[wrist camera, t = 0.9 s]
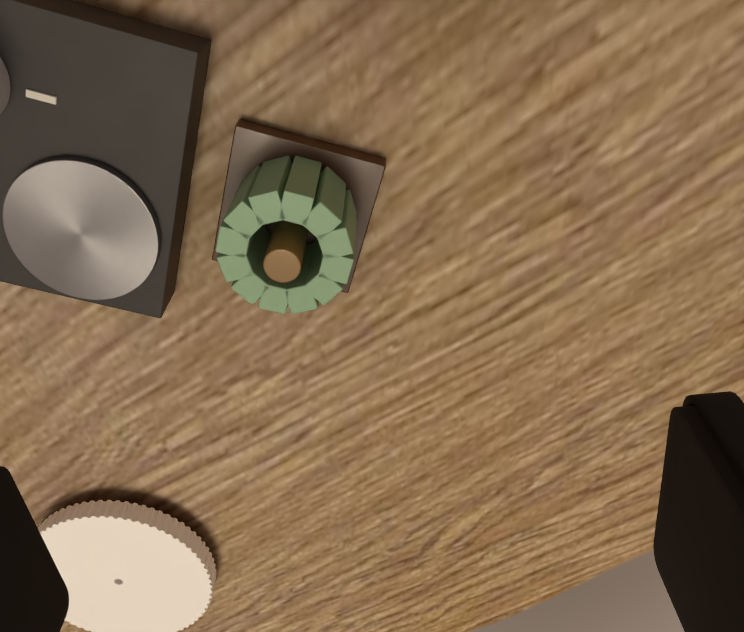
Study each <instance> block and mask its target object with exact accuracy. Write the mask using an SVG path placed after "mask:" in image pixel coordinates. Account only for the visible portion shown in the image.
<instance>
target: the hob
mask: <svg viewBox="0 0 744 632" xmlns="http://www.w3.org/2000/svg"><path fill="white" fill-rule="evenodd" d="M210 46H211V40H209V39H205V38H202V37H198V36H195V35H191V34H188V33H184V32H181V31H177V30H174V29H170V28H167V27H163V26H160V25H156V24H153V23H149V22H146V21H142V20H139V19H135V18H132V17H128V16H125V15H121V14H118V13H114V12H111V11H107V10H104V9H100V8H96V7H93V6H89V5H86V4H82V3H79V2H75V1H72V0H0V57H1V59H2V61H3V62H4V64H5V67H6V69H7V71H8V75H9V79H10V87H11V90H10V97H9V101H8V104H7V106H6V108H5V109H4V111H3V112H2V113H1V114H0V281H2V282H6V283H10V284H15V285H19V286H23V287H28V288H32V289H36V290H40V291H45V292H49V293H53V294H58V295H62V296H66V297H71V298H75V299H79V300H84V301H88V302H92V303H97V304H101V305H105V306H110V307H114V308H118V309H122V310H127V311H131V312H135V313H140V314H144V315H148V316H153V317H157V318H161V317H162V315H163V313H164V311H165V309H166V307H167V305H168V303H169V301H170V299H171V297H172V296H173V294H174V289H175V283H176V276H177V269H178V262H179V256H180V249H181V242H182V235H183V229H184V222H185V215H186V208H187V202H188V195H189V188H190V181H191V175H192V168H193V161H194V154H195V148H196V141H197V134H198V127H199V121H200V114H201V107H202V100H203V93H204V87H205V80H206V73H207V66H208V60H209V53H210ZM60 156H74V157H82V158H87V159H91V160H95V161H98V162H101V163H103V164H105V165H107V166H110V167H112V168H113V169H115V170H117V171H118V172H120V173H122V174H123V175H124V176H126V177H127V178H128V179H130V180H131V181H132V182H133V183H134V184H135V185H136V186H137V187H138V188H139V189H140V190H141V191H142V193H143V194H144V195H145V196H146V198H147V199H148V201H149V202H150V204H151V206H152V208H153V210H154V211H155V214H156V217H157V219H158V222H159V226H160V231H161V250H160V255H159V258H158V261H157V264H156V266H155V267H154V269H153V271H152V272H151V274H150V276H149V277H148V278H147V279H146V281H145V282H144V283H143V284H142V285H140V286H139V287H138V288H137V289H135V290H133V291H132V292H130V293H128V294H126V295H123V296H120V297H117V298H113V299H107V300H88V299H81V298H76V297H73V296H69V295H66V294H64V293H61V292H59V291H57V290H55V289H53V288H51V287H49V286H47V285H46V284H44V283H43V282H41V281H40V280H38V279H37V278H36V277H35V276H33V275H32V274H31V273H30V272H29V271H28V270H27V269H26V268H25V267H24V266H23V265H22V263H21V262H20V261H19V260H18V258H17V257H16V255H15V254H14V252H13V251H12V249H11V247H10V245H9V243H8V240H7V237H6V235H5V231H4V227H3V218H2V211H3V203H4V199H5V196H6V193H7V191H8V189H9V187H10V186H11V184H12V183H13V181H14V180H15V179H16V178H17V177H18V176H19V175H20V174H21V173H22V172H23V171H25V170H26V169H27V168H29V167H30V166H32V165H34V164H35V163H37V162H39V161H42V160H45V159H48V158H53V157H60Z"/></svg>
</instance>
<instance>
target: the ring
mask: <svg viewBox="0 0 744 632" xmlns="http://www.w3.org/2000/svg"><path fill="white" fill-rule="evenodd" d="M321 165H322V163H321V162H318V161H314V160H310V159H307V158H303V157H299V156H295V158H294V161H293V164H292V163H291V160H290V157H289V156H284V157H280V158H276V159H272V160H268V161H264V162H263V164H262V166H261V167H260V166H259V165H257V166H256V167H255V168H254V169H253V170H252V171H251V172H250V174H249V175H248V176H247V177H246V178H245V179H244V180H243V181H242V182H241V183H240V186H239V188H238V189H237V191H236V193H235V195H234V198H233V200H232V202H231V204H230V206H229V208H228V210H227V212H226V215H225V217H224V219H223V221H222V223H221V225H220V228H219V234H218V240H217V245H216V252H218V253H219V254H218V256H217V261H218V263H219V265H220V268H221V270H222V273H223V275H224V277H225V280H226V282H231V281H233V283H232V286H231V288H232V289H233V290H234V291H235V292H237V293H238V294H239V295H240V296H242V297H243V298H244V299H245V300H246V301H248V302H249V303H250V304H254V303H255V302H256V301H257V300H258V299H259V298H260V300H259V305H258V307H259V308H261V309H265V310H269V311H273V312H277V313H282V314H285V313H286V310H287V306H289V308H290V311H291V313H292V314H296V313H301V312H305V311H310V310H314V309H318V305H319V302H320V303H321V304H322V305H325V304H327V303H328V302H329V301H330V300H331V299H332V298H333V297H335V296H336V295H337V294H338V293H339V292H340V291H341V290H343V283H344V284H347V282H348V278H349V275H350V271H351V268H352V265H353V261H354V251H355V237H356V224H357V219H356V215H357V212H356V208H355V205H354V201H353V198H352V195H351V191H350V190H346V183H345V182H344V181H343V180H342V179H341V178H340V177H339V176H338V175H336V174H335V173H334V172H333V171H332V170H331V169H330V168H329V167H328V166H327V167H326V168H324V169H323V170H322V171H321V172H320V169H321ZM281 220H284V221H288V222H292V223H296V224H300V225H303V226H304V227H305V228H306V229H308V230H309V231H310V232H311V233H312V234H313V235H314V236H315V237H317V240H316V241H314V242H313V243H309V244H306V247H305V252H304V257H303V262H302V266H301V271H300V273H299V275H298V276H297V277H296V278H295V279H294V280H292V281H290V282H284V283H283V282H277V281H274V280H272V279H271V278H270V277H269V276H268V275H267V274H266V272H265V271H264V267H263V261H264V258H265V255H266V251H267V248H268V245H269V242H270V239H271V234H270V233H269V232H268V231H267V230H266V227H265V224H269V223H273V222H277V221H281Z"/></svg>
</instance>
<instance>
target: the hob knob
mask: <svg viewBox="0 0 744 632" xmlns="http://www.w3.org/2000/svg"><path fill="white" fill-rule="evenodd" d="M10 90H11V87H10V79H9V75H8V71H7V69H6V67H5V64H4V62H3V61H2V59H1V57H0V114H1V113H2V112H3V111H4V109H5V108H6V106H7V104H8V101H9V97H10Z"/></svg>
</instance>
